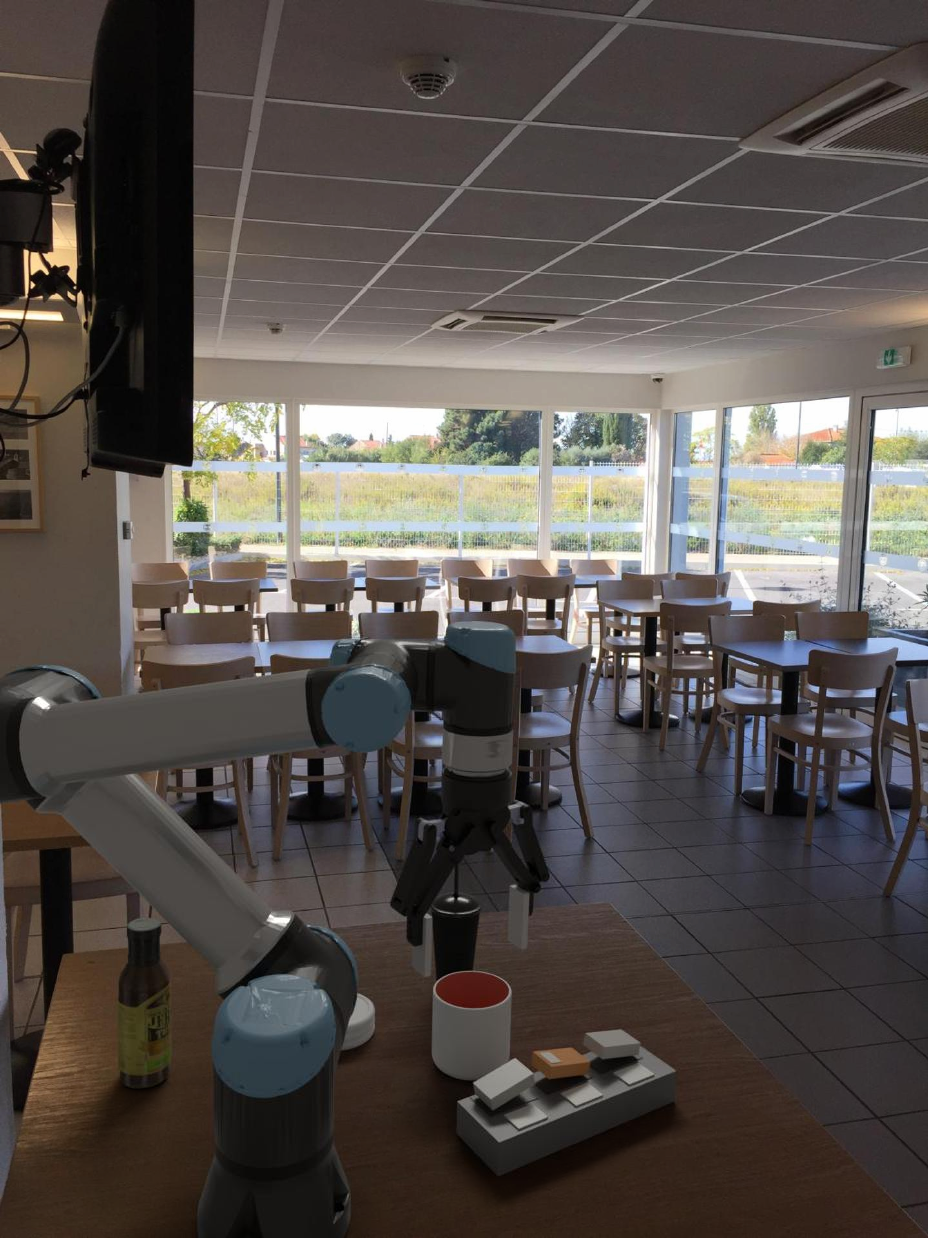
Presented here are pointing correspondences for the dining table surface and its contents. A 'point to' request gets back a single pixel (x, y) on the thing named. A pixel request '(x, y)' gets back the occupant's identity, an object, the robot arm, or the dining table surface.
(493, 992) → the cup
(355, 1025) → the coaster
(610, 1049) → the rocker
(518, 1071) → the block
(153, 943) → the sauce bottle
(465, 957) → the drinking cup
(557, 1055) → the block
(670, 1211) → the dining table surface
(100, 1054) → the dining table surface
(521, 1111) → the switch panel
